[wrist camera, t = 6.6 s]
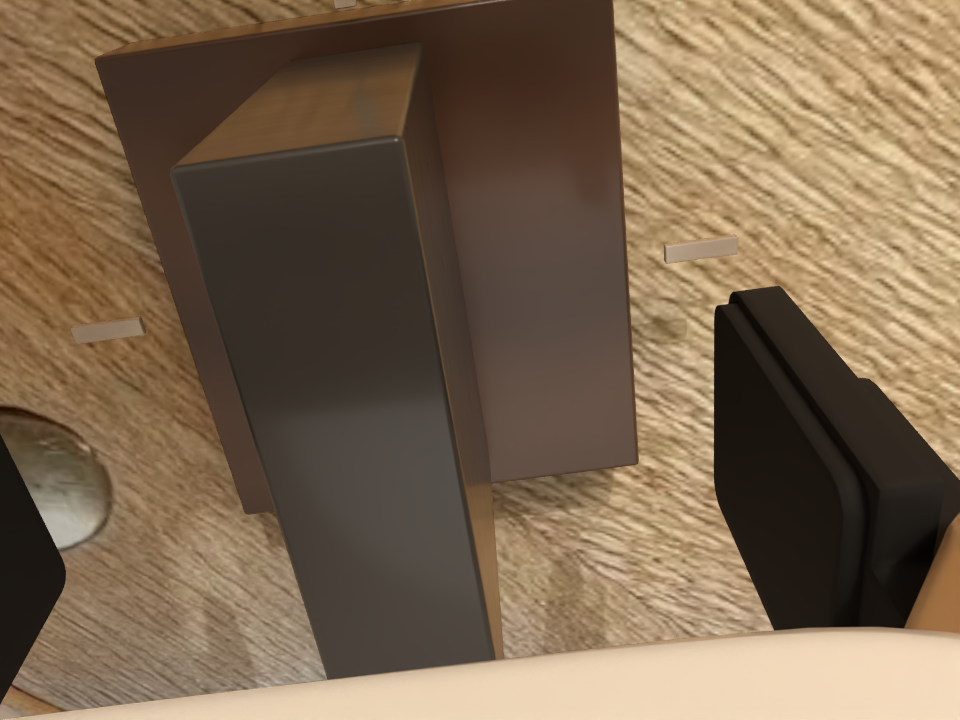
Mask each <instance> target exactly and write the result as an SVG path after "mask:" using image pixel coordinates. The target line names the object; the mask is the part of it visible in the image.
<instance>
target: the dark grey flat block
mask: <svg viewBox="0 0 960 720" xmlns="http://www.w3.org/2000/svg"><path fill="white" fill-rule="evenodd" d="M170 177H171V180H172V183H173V186H174V189H175V193H176V196H177V199H178V202H179V205H180V209H181V212H182V215H183V218H184V221H185V225H186V228H187V231H188V234H189V237H190V241H191V244H192V247H193V250H194V253H195V257H196V260H197V263H198V266H199V269H200V273H201V276H202V279H203V282H204V285H205V289H206V292H207V295H208V298H209V301H210V305H211V308H212V311H213V314H214V317H215V321H216V324H217V327H218V330H219V333H220V337H221V340H222V343H223V346H224V349H225V353H226V356H227V359H228V362H229V365H230V369H231V372H232V375H233V378H234V381H235V385H236V388H237V391H238V394H239V397H240V401H241V404H242V407H243V410H244V413H245V417H246V420H247V423H248V426H249V429H250V433H251V436H252V439H253V442H254V445H255V449H256V452H257V455H258V458H259V461H260V465H261V468H262V471H263V474H264V477H265V481H266V484H267V487H268V490H269V493H270V496H271V500H272V503H273V506H274V509H275V512H276V516H277V519H278V522H279V525H280V528H281V532H282V535H283V538H284V541H285V544H286V548H287V551H288V554H289V557H290V560H291V564H292V567H293V570H294V573H295V576H296V580H297V583H298V586H299V589H300V592H301V596H302V599H303V602H304V605H305V608H306V612H307V615H308V618H309V621H310V624H311V628H312V631H313V634H314V637H315V640H316V644H317V647H318V650H319V653H320V656H321V660H322V663H323V666H324V669H325V672H326V676H327V679H328V680H330V679H339V678H347V677H355V676H364V675H372V674H380V673H388V672H397V671H405V670H413V669H422V668H430V667H439V666H448V665H456V664H465V663H473V662H482V661H491V660H499V659H504V651H503V637H502V623H501V609H500V595H499V581H498V567H497V553H496V540H495V526H494V512H493V498H492V484H491V470H490V462H489V456H488V449H487V443H486V437H485V430H484V424H483V418H482V411H481V405H480V398H479V392H478V386H477V379H476V373H475V367H474V360H473V354H472V348H471V341H470V335H469V329H468V322H467V316H466V310H465V303H464V297H463V291H462V284H461V278H460V272H459V265H458V259H457V253H456V246H455V240H454V234H453V227H452V221H451V215H450V208H449V202H448V196H447V189H446V183H445V177H444V170H443V164H442V158H441V151H440V145H439V139H438V132H437V126H436V120H435V113H434V107H433V101H432V94H431V88H430V82H429V75H428V69H427V63H426V56H425V50H424V46H423V44H422V43H419V42H415V43H408V44H402V45H395V46H388V47H381V48H375V49H368V50H361V51H355V52H348V53H341V54H334V55H328V56H321V57H314V58H307V59H301V60H294V61H290V62H288V63H287V64H286V65H284V66H283V67H282V68H281V69H280V70H279V71H278V72H277V73H276V74H275V75H273V76H272V77H271V78H270V79H269V80H268V81H267V82H266V83H265V84H264V85H262V86H261V87H260V88H259V89H258V90H257V91H256V92H255V93H254V94H252V95H251V96H250V97H249V98H248V99H247V100H246V101H245V102H244V103H243V104H241V105H240V106H239V107H238V108H237V109H236V110H235V111H234V112H233V113H232V114H230V115H229V116H228V117H227V118H226V119H225V120H224V121H223V122H222V123H221V124H219V125H218V126H217V127H216V128H215V129H214V130H213V131H212V132H211V133H210V134H208V135H207V136H206V137H205V138H204V139H203V140H202V141H201V142H200V143H198V144H197V145H196V146H195V147H194V148H193V149H192V150H191V151H190V152H189V153H187V154H186V155H185V156H184V157H183V158H182V159H181V160H180V161H179V162H178V163H176V164H175V165H174V166H173V167H172V168H171V171H170Z"/></svg>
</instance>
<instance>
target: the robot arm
mask: <svg viewBox="0 0 960 720" xmlns="http://www.w3.org/2000/svg"><path fill="white" fill-rule="evenodd" d="M714 484H715V491H716V496H717V500H718V504H719V506H720V509H721V511H722V513H723V516H724V518H725V520H726V522H727V525H728V527H729V529H730V531H731V534H732V536H733V538H734V540H735V543H736V545H737V547H738V550H739V552H740V554H741V556H742V559H743V561H744V563H745V565H746V568H747V570H748V572H749V574H750V577H751V579H752V581H753V583H754V586H755V588H756V590H757V592H758V595H759V597H760V599H761V601H762V604H763V606H764V608H765V610H766V613H767V615H768V617H769V620H770V622H771V624H772V626H773V629H774V631H764V632H752V633H741V634H729V635H717V636H706V637H694V638H682V639H672V640H663V641H654V642H646V643H637V644H628V645H620V646H611V647H603V648H594V649H585V650H577V651H568V652H560V653H551V654H542V655H534V656H525V657H517V658H508V659H499V660H491V661H482V662H473V663H465V664H456V665H448V666H439V667H430V668H422V669H413V670H405V671H397V672H388V673H380V674H372V675H364V676H355V677H347V678H339V679H330V680H322V681H314V682H305V683H297V684H289V685H281V686H272V687H264V688H256V689H247V690H239V691H231V692H222V693H214V694H206V695H197V696H189V697H181V698H172V699H164V700H156V701H147V702H139V703H131V704H123V705H115V706H107V707H99V708H91V709H83V710H75V711H67V712H59V713H50V714H42V715H34V716H26V717H18V718H10V719H1V720H960V480H959V479H958V478H957V477H956V476H955V474H954V473H953V472H952V471H951V470H950V469H949V467H948V466H947V465H946V464H945V463H944V462H943V461H942V459H941V458H940V457H939V456H938V455H937V454H936V453H935V451H934V450H933V449H932V448H931V447H930V446H929V445H928V443H927V442H926V441H925V440H924V439H923V438H922V436H921V435H920V434H919V433H918V432H917V431H916V430H915V428H914V427H913V426H912V425H911V424H910V423H909V422H908V420H907V419H906V418H905V417H904V416H903V415H902V413H901V412H900V411H899V410H898V409H897V408H896V407H895V405H894V404H893V403H892V402H891V401H890V400H889V399H888V397H887V396H886V395H885V394H884V393H883V392H882V391H881V389H880V388H879V387H878V386H877V385H876V384H875V383H874V382H872V381H871V380H870V379H866V378H858V377H857V376H856V375H855V374H854V373H853V371H852V370H851V369H850V368H849V367H848V366H847V364H846V363H845V362H844V361H843V360H842V358H841V357H840V356H839V355H838V354H837V353H836V351H835V350H834V349H833V348H832V347H831V345H830V344H829V343H828V342H827V341H826V339H825V338H824V337H823V336H822V335H821V334H820V332H819V331H818V330H817V329H816V328H815V326H814V325H813V324H812V323H811V322H810V321H809V319H808V318H807V317H806V316H805V315H804V313H803V312H802V311H801V310H800V309H799V308H798V306H797V305H796V304H795V303H794V302H793V300H792V299H791V298H790V297H789V296H788V294H787V293H786V292H785V291H784V290H783V289H782V288H781V287H780V286H774V287H766V288H759V289H752V290H744V291H737V292H732V294H731V295H730V299H729V304H726V305H718V306H717V307H716V309H715V316H714ZM65 580H66V570H65V565H64V562H63V559H62V557H61V555H60V553H59V551H58V549H57V547H56V545H55V543H54V541H53V539H52V537H51V535H50V533H49V531H48V529H47V527H46V525H45V523H44V521H43V519H42V517H41V515H40V513H39V511H38V509H37V507H36V505H35V503H34V501H33V499H32V497H31V495H30V493H29V491H28V489H27V487H26V485H25V483H24V481H23V479H22V477H21V475H20V473H19V471H18V469H17V467H16V465H15V463H14V461H13V459H12V457H11V455H10V453H9V451H8V449H7V447H6V445H5V443H4V441H3V439H2V437H1V435H0V704H1V702H2V700H3V698H4V697H5V695H6V693H7V691H8V689H9V687H10V686H11V684H12V682H13V680H14V678H15V676H16V675H17V673H18V671H19V669H20V667H21V666H22V664H23V662H24V660H25V658H26V656H27V655H28V653H29V651H30V649H31V647H32V646H33V644H34V642H35V640H36V638H37V636H38V635H39V633H40V631H41V629H42V627H43V625H44V624H45V622H46V620H47V618H48V616H49V615H50V613H51V611H52V609H53V607H54V605H55V604H56V602H57V600H58V598H59V596H60V595H61V593H62V591H63V588H64V585H65Z"/></svg>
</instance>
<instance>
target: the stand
mask: <svg viewBox="0 0 960 720" xmlns="http://www.w3.org/2000/svg"><path fill="white" fill-rule="evenodd" d="M333 1H334V6H335V9H341V8H348V7H355V6H356V5H357V3H356V0H333ZM415 42H419V43H422V44H423V46H424V50H425V56H426V63H427V69H428V75H429V82H430V88H431V94H432V101H433V107H434V113H435V120H436V126H437V132H438V139H439V145H440V151H441V158H442V164H443V170H444V177H445V183H446V189H447V196H448V202H449V208H450V215H451V221H452V227H453V234H454V240H455V246H456V253H457V259H458V265H459V272H460V278H461V284H462V291H463V297H464V303H465V310H466V316H467V322H468V329H469V335H470V341H471V348H472V354H473V360H474V367H475V373H476V379H477V386H478V392H479V398H480V405H481V411H482V418H483V424H484V430H485V437H486V443H487V449H488V456H489V462H490V470H491V483H498V482H506V481H514V480H522V479H529V478H537V477H545V476H553V475H561V474H568V473H576V472H584V471H592V470H600V469H607V468H615V467H623V466H631V465H636V464H638V461H639V456H638V438H637V420H636V402H635V384H634V366H633V349H632V331H631V313H630V295H629V277H628V259H627V241H626V223H625V206H624V188H623V170H622V152H621V134H620V116H619V98H618V81H617V63H616V45H615V27H614V9H613V0H414V1H407V2H400V3H394V4H387V5H380V6H374V7H367V8H360V9H353V10H347V11H340V12H333V13H327V14H320V15H313V16H307V17H300V18H293V19H286V20H280V21H273V22H266V23H260V24H253V25H246V26H240V27H233V28H226V29H219V30H213V31H206V32H199V33H193V34H186V35H179V36H172V37H166V38H159V39H152V40H146V41H139V42H133V43H130V44H128V45H125V46H123V47H120V48H118V49H115V50H113V51H110V52H108V53H105V54H103V55H100V56H98V57H97V58H95V65H96V68H97V71H98V74H99V77H100V80H101V83H102V86H103V89H104V92H105V95H106V98H107V101H108V104H109V107H110V110H111V113H112V116H113V119H114V122H115V125H116V128H117V131H118V134H119V137H120V140H121V143H122V146H123V149H124V152H125V155H126V158H127V161H128V164H129V167H130V170H131V173H132V176H133V179H134V182H135V185H136V188H137V191H138V194H139V197H140V200H141V203H142V206H143V209H144V212H145V215H146V218H147V221H148V224H149V227H150V230H151V233H152V236H153V239H154V242H155V245H156V248H157V251H158V254H159V257H160V260H161V263H162V266H163V269H164V272H165V275H166V278H167V281H168V284H169V287H170V290H171V293H172V296H173V299H174V302H175V305H176V308H177V311H178V314H179V317H180V320H181V323H182V326H183V329H184V332H185V335H186V338H187V341H188V344H189V347H190V350H191V353H192V356H193V359H194V362H195V365H196V368H197V371H198V374H199V377H200V380H201V383H202V386H203V389H204V392H205V395H206V398H207V401H208V404H209V407H210V410H211V413H212V416H213V419H214V422H215V425H216V428H217V431H218V434H219V437H220V440H221V443H222V446H223V449H224V452H225V455H226V458H227V461H228V464H229V467H230V470H231V473H232V476H233V479H234V482H235V485H236V488H237V491H238V494H239V497H240V500H241V503H242V506H243V509H244V512H245V514H248V515H249V514H256V513H264V512H272V511H275V509H274V506H273V503H272V500H271V496H270V493H269V490H268V487H267V484H266V481H265V477H264V474H263V471H262V468H261V465H260V461H259V458H258V455H257V452H256V449H255V445H254V442H253V439H252V436H251V433H250V429H249V426H248V423H247V420H246V417H245V413H244V410H243V407H242V404H241V401H240V397H239V394H238V391H237V388H236V385H235V381H234V378H233V375H232V372H231V369H230V365H229V362H228V359H227V356H226V353H225V349H224V346H223V343H222V340H221V337H220V333H219V330H218V327H217V324H216V321H215V317H214V314H213V311H212V308H211V305H210V301H209V298H208V295H207V292H206V289H205V285H204V282H203V279H202V276H201V273H200V269H199V266H198V263H197V260H196V257H195V253H194V250H193V247H192V244H191V241H190V237H189V234H188V231H187V228H186V225H185V221H184V218H183V215H182V212H181V209H180V205H179V202H178V199H177V196H176V193H175V189H174V186H173V183H172V180H171V177H170V171H171V168H172V167H173V166H174V165H175V164H176V163H178V162H179V161H180V160H181V159H182V158H183V157H184V156H185V155H186V154H187V153H189V152H190V151H191V150H192V149H193V148H194V147H195V146H196V145H197V144H198V143H200V142H201V141H202V140H203V139H204V138H205V137H206V136H207V135H208V134H210V133H211V132H212V131H213V130H214V129H215V128H216V127H217V126H218V125H219V124H221V123H222V122H223V121H224V120H225V119H226V118H227V117H228V116H229V115H230V114H232V113H233V112H234V111H235V110H236V109H237V108H238V107H239V106H240V105H241V104H243V103H244V102H245V101H246V100H247V99H248V98H249V97H250V96H251V95H252V94H254V93H255V92H256V91H257V90H258V89H259V88H260V87H261V86H262V85H264V84H265V83H266V82H267V81H268V80H269V79H270V78H271V77H272V76H273V75H275V74H276V73H277V72H278V71H279V70H280V69H281V68H282V67H283V66H284V65H286V64H287V63H288V62H290V61H294V60H301V59H307V58H314V57H321V56H328V55H334V54H341V53H348V52H355V51H361V50H368V49H375V48H381V47H388V46H395V45H402V44H408V43H415ZM733 254H738V237H737V236H736V235H728V236H720V237H713V238H706V239H699V240H691V241H684V242H677V243H669V244H664V261H665V262H666V264H668V263H675V262H682V261H689V260H697V259H704V258H711V257H719V256H726V255H733ZM70 330H71V333H72V335H73V338H74V340H75V343H76V344H81V343H89V342H96V341H103V340H111V339H118V338H125V337H133V336H140V335H144V334H145V333H146V329H145V326H144V324H143V321H142V318H141V316H138V317H131V318H123V319H116V320H109V321H101V322H94V323H87V324H80V325H73V326H72V327H71V328H70Z"/></svg>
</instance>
